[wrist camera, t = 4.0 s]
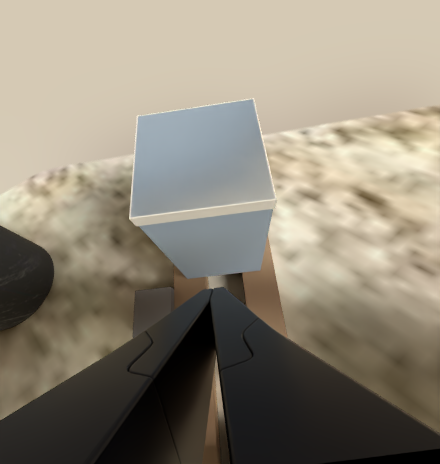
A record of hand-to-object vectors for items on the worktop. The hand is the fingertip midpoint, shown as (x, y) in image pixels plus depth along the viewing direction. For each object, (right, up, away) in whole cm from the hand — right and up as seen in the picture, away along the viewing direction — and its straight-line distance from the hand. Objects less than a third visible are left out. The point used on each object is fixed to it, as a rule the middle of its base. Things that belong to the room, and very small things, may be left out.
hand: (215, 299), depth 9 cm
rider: (0, +1, +10) cm, 10 cm away
